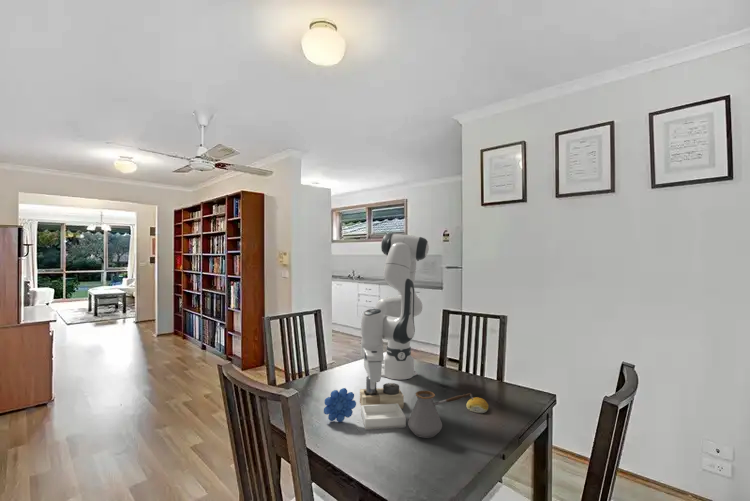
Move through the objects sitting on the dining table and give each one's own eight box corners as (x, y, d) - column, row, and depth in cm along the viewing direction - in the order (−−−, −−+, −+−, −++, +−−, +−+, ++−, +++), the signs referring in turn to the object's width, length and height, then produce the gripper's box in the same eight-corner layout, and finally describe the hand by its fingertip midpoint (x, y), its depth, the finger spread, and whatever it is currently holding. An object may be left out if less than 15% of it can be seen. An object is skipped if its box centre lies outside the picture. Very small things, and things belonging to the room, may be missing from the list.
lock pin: (365, 403, 148) (365, 376, 148) (375, 403, 149) (375, 375, 149) (366, 407, 144) (367, 379, 144) (376, 407, 145) (377, 378, 145)
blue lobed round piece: (357, 417, 135) (357, 384, 136) (355, 425, 129) (355, 391, 129) (325, 416, 136) (326, 383, 136) (321, 424, 130) (322, 389, 130)
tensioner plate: (359, 401, 150) (359, 381, 150) (398, 399, 153) (398, 379, 153) (362, 410, 141) (362, 389, 141) (403, 408, 144) (403, 387, 144)
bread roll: (488, 406, 148) (488, 396, 148) (487, 415, 140) (487, 404, 140) (467, 403, 151) (467, 393, 151) (465, 411, 142) (465, 401, 142)
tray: (360, 414, 138) (361, 405, 138) (397, 412, 140) (398, 403, 140) (365, 429, 126) (365, 419, 126) (405, 427, 128) (405, 417, 128)
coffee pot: (404, 437, 121) (404, 391, 121) (411, 422, 132) (412, 380, 132) (471, 448, 114) (472, 399, 115) (473, 432, 125) (474, 387, 126)
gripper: (360, 344, 157) (360, 377, 156) (367, 358, 136) (367, 396, 136) (375, 344, 158) (375, 377, 157) (384, 357, 137) (383, 395, 137)
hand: (371, 386), depth 147 cm, fingers closed on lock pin, 4 cm apart
